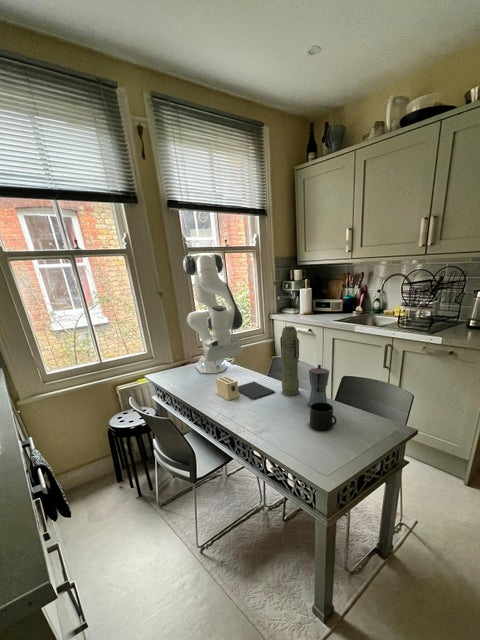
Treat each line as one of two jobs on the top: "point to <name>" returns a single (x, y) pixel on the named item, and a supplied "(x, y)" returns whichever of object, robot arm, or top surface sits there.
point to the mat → (254, 390)
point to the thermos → (290, 360)
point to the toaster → (227, 387)
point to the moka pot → (318, 384)
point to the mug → (321, 416)
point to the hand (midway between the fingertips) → (225, 366)
